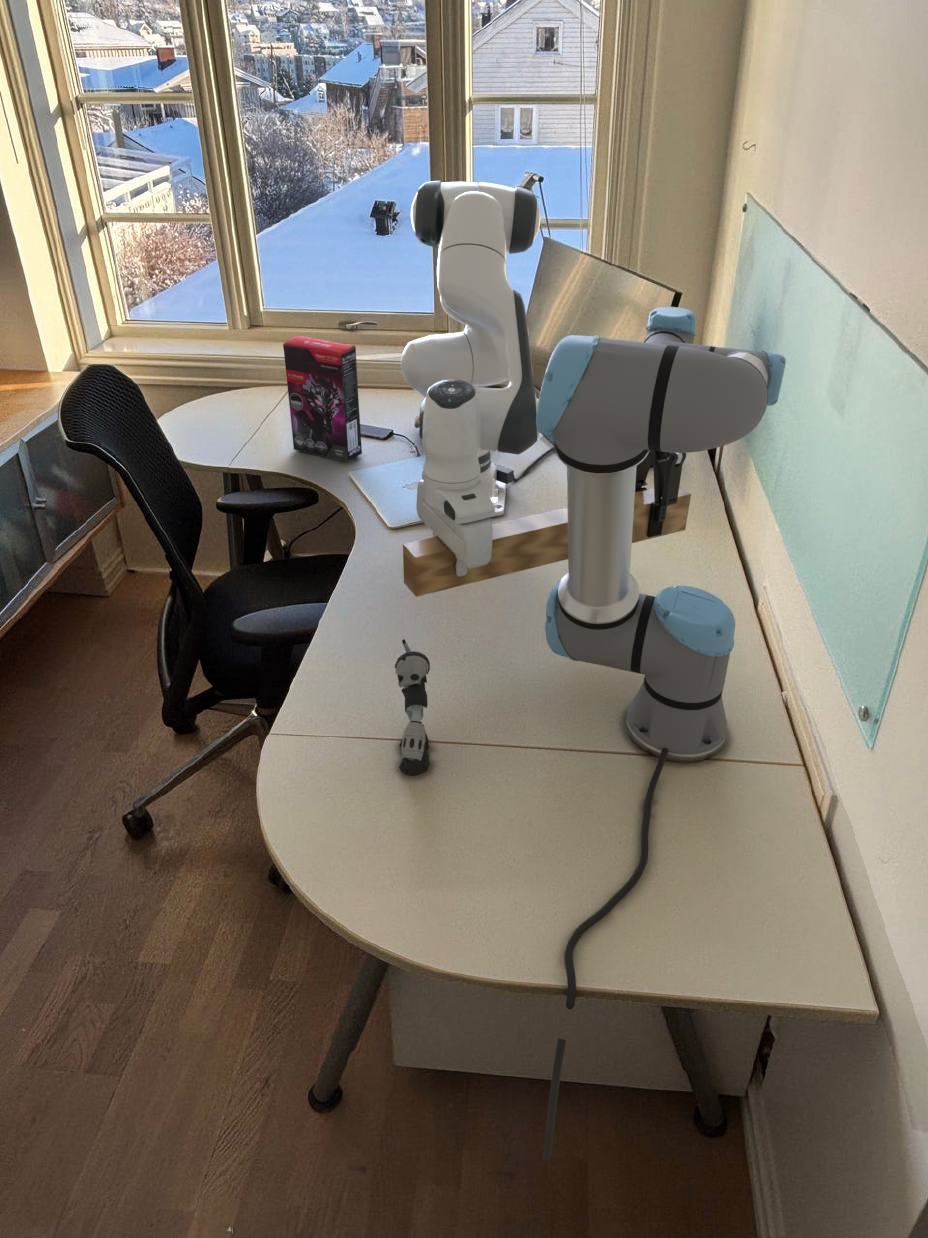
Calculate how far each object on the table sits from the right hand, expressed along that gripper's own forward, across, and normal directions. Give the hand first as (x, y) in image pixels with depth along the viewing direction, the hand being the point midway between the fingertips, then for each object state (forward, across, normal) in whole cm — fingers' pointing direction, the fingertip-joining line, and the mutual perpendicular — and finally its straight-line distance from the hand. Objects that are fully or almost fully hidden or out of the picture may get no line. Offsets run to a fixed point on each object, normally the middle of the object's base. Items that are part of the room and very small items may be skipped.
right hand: (644, 528), depth 166 cm
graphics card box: (+15, -89, -30) cm, 95 cm away
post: (+1, 0, -20) cm, 20 cm away
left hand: (-2, 0, -39) cm, 39 cm away
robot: (+15, +22, -56) cm, 62 cm away
